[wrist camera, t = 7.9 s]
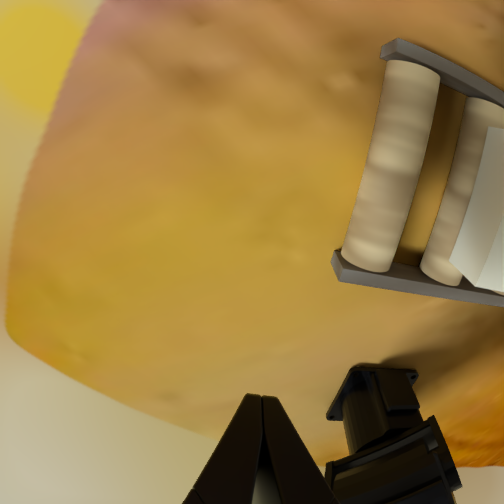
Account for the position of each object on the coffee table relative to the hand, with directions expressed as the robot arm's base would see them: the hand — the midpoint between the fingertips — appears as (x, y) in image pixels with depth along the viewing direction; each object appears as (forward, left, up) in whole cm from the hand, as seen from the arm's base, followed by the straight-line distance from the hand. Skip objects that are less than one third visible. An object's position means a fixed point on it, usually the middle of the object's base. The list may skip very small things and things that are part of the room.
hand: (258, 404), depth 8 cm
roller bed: (+6, -17, -12) cm, 22 cm away
